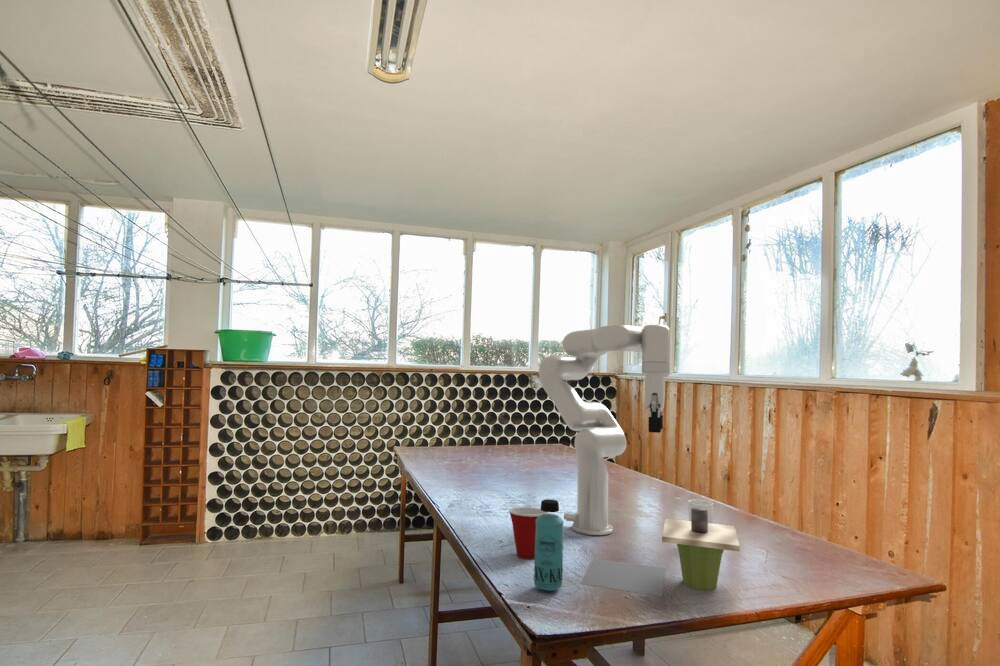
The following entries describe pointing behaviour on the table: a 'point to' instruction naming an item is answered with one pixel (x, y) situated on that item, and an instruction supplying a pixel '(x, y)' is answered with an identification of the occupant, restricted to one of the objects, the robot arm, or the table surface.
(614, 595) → the table surface
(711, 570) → the plant pot
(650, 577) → the mat
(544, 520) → the beverage bottle
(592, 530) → the robot arm
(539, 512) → the plastic cup
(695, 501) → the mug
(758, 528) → the table surface
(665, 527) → the lid
